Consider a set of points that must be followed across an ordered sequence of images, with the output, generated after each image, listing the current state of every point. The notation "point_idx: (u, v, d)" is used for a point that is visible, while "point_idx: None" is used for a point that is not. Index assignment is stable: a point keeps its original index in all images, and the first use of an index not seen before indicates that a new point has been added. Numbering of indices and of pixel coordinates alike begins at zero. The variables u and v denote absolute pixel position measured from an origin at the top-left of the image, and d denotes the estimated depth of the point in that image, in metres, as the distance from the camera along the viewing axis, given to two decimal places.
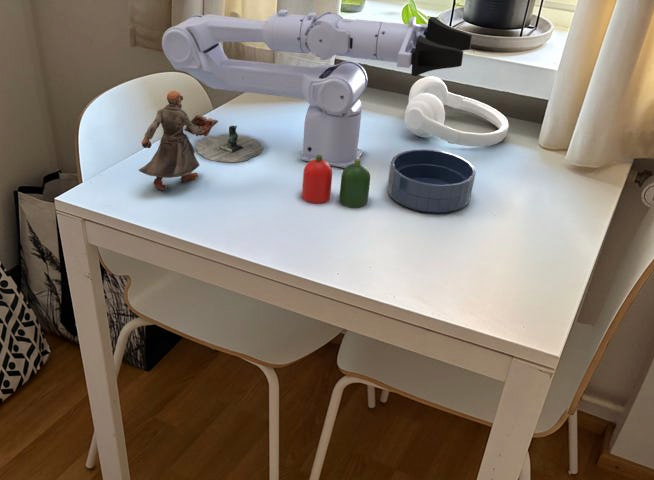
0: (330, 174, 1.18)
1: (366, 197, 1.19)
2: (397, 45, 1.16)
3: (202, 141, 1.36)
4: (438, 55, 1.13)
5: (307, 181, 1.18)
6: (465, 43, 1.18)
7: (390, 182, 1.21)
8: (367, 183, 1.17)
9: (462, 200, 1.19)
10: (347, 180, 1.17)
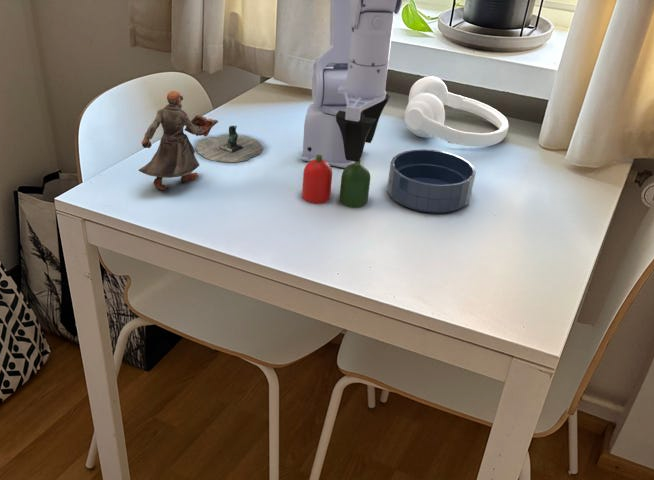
0: (330, 174, 1.18)
1: (366, 197, 1.19)
2: None
3: (202, 141, 1.36)
4: None
5: (307, 181, 1.18)
6: None
7: (390, 182, 1.21)
8: (367, 183, 1.17)
9: (462, 200, 1.19)
10: (347, 180, 1.17)
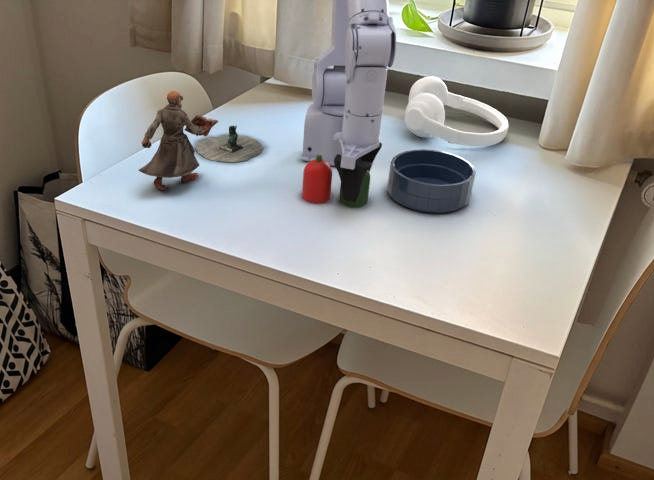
0: (330, 174, 1.18)
1: (366, 197, 1.19)
2: None
3: (202, 141, 1.36)
4: None
5: (307, 181, 1.18)
6: None
7: (390, 182, 1.21)
8: (367, 183, 1.17)
9: (462, 200, 1.19)
10: None
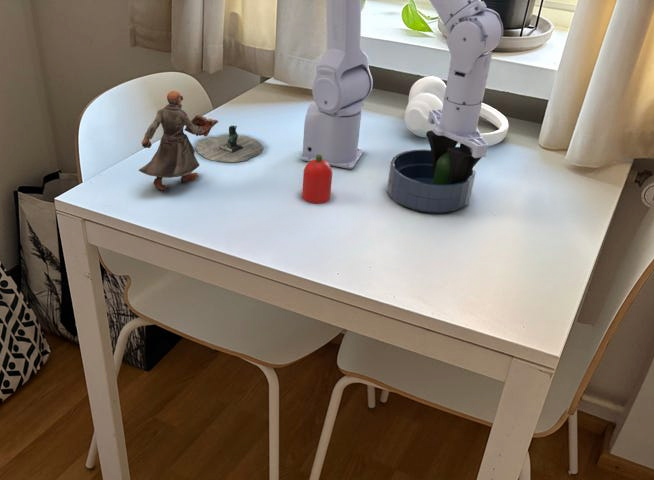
0: (330, 174, 1.18)
1: None
2: None
3: (202, 141, 1.36)
4: None
5: (307, 181, 1.18)
6: None
7: (390, 182, 1.21)
8: None
9: (462, 200, 1.19)
10: None
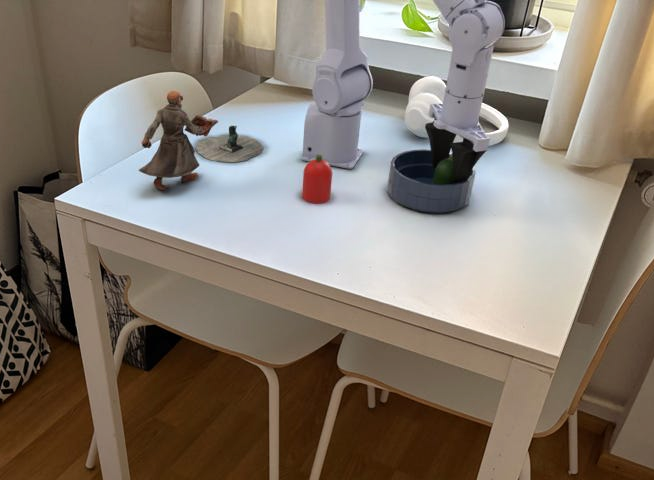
0: (330, 174, 1.18)
1: None
2: None
3: (202, 141, 1.36)
4: None
5: (307, 181, 1.18)
6: None
7: (390, 182, 1.21)
8: None
9: (462, 200, 1.19)
10: (451, 176, 1.18)
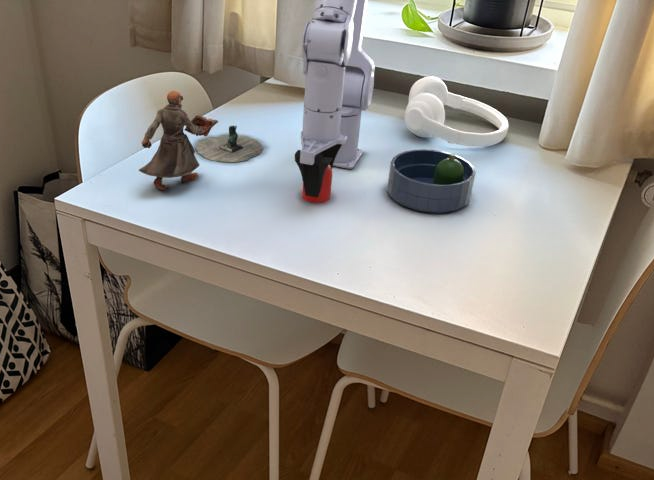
0: (330, 174, 1.18)
1: None
2: (320, 134, 1.12)
3: (202, 141, 1.36)
4: (314, 176, 1.16)
5: None
6: None
7: (390, 182, 1.21)
8: None
9: (462, 200, 1.19)
10: (451, 176, 1.18)
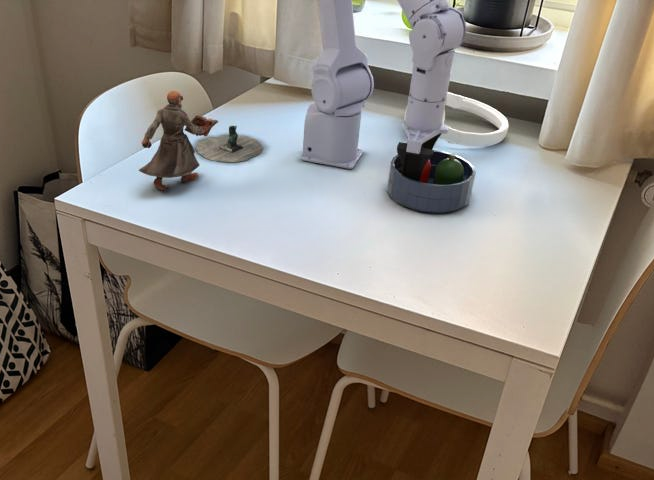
0: (429, 167, 1.20)
1: None
2: (425, 123, 1.14)
3: (202, 141, 1.36)
4: (414, 168, 1.17)
5: None
6: None
7: (390, 182, 1.21)
8: None
9: (462, 200, 1.19)
10: (451, 176, 1.18)
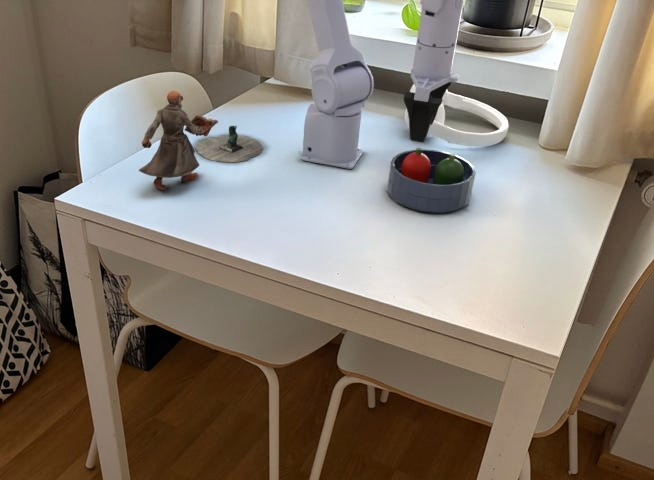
0: (429, 167, 1.20)
1: None
2: (433, 71, 1.09)
3: (202, 141, 1.36)
4: (422, 119, 1.12)
5: (407, 173, 1.21)
6: None
7: (390, 182, 1.21)
8: None
9: (462, 200, 1.19)
10: (451, 176, 1.18)
